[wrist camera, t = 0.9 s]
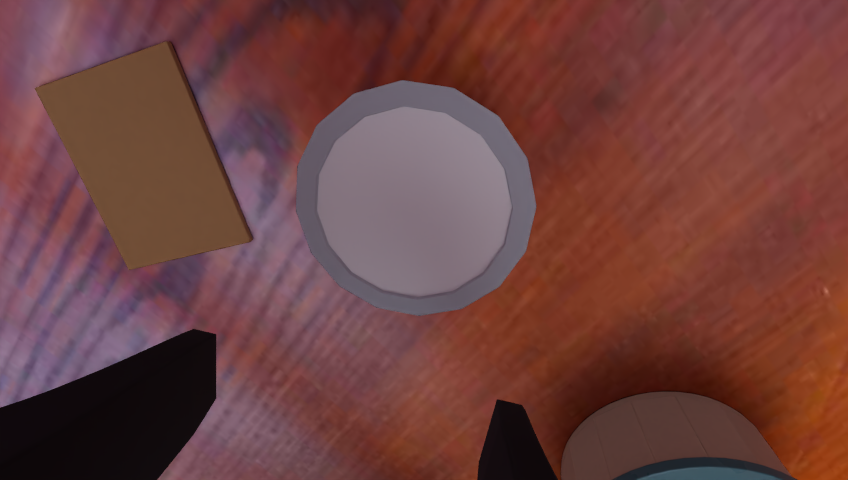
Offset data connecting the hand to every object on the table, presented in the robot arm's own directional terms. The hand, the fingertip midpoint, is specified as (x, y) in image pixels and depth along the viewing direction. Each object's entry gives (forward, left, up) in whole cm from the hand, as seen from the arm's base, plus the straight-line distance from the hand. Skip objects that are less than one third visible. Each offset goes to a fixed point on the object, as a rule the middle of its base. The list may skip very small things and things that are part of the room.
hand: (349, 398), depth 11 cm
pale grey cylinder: (+4, -2, -10) cm, 11 cm away
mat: (+7, +11, -10) cm, 16 cm away
